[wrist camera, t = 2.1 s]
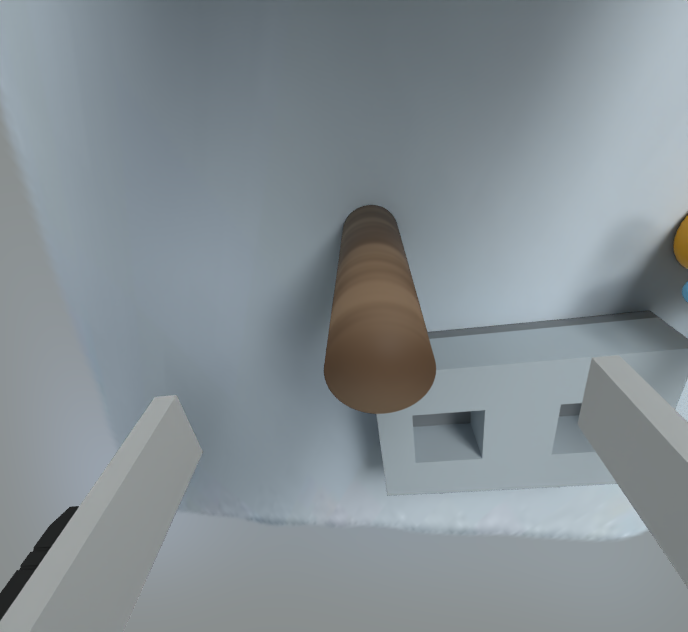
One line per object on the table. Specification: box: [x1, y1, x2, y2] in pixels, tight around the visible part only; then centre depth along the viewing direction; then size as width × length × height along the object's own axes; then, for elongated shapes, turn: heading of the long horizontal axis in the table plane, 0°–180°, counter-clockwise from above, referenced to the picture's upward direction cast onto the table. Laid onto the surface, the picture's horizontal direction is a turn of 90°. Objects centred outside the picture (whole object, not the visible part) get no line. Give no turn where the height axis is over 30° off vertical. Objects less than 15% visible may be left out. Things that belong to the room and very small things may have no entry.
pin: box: [324, 205, 436, 414], centre depth 20 cm, size 4×4×16 cm
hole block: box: [376, 311, 688, 496], centre depth 32 cm, size 14×22×5 cm, turn 98°
